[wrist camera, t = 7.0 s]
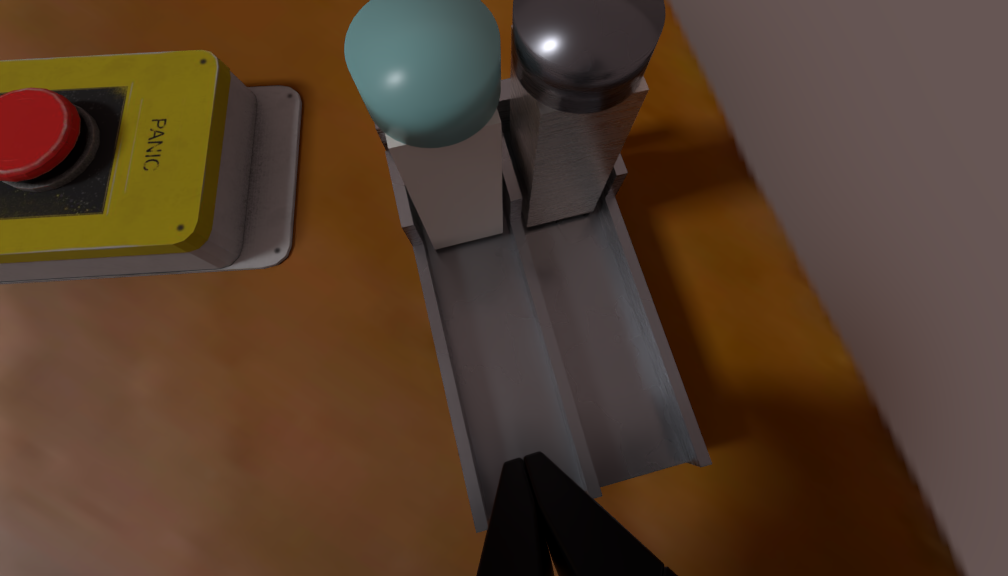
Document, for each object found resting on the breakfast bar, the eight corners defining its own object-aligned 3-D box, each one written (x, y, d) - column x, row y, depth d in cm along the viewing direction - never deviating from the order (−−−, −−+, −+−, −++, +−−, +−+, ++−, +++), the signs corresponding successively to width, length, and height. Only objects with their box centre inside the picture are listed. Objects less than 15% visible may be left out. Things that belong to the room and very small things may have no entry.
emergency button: (-123, 36, 17) (259, 16, 17) (3, 110, 21) (307, 93, 21) (-209, 258, 14) (235, 232, 15) (-48, 291, 19) (296, 270, 19)
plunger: (511, 237, 17) (518, 89, 9) (428, 258, 17) (358, 125, 9) (490, 164, 18) (479, -31, 10) (411, 183, 18) (332, -1, 10)
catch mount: (682, 455, 16) (932, 529, 7) (480, 513, 16) (443, 682, 6) (574, 145, 20) (638, -93, 10) (406, 185, 19) (309, -27, 10)
